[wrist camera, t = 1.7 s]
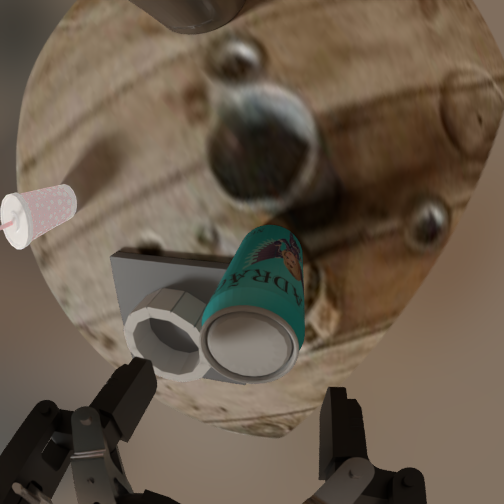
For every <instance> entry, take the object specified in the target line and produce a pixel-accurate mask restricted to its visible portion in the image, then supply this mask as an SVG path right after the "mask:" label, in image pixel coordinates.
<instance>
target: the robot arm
mask: <svg viewBox="0 0 504 504" xmlns="http://www.w3.org/2000/svg"><path fill="white" fill-rule="evenodd" d="M129 1H130V2H132V3H133V4H135V5H136V6H138V7H139V8H141V9H142V10H144V11H145V12H146V13H148V14H149V15H151V16H152V17H153V18H155V19H156V20H158V21H159V22H160V23H162V24H163V25H164V26H166V27H167V28H169V29H170V30H172V31H174V32H177V33H180V34H188V35H189V34H200V33H205V32H208V31H211V30H214V29H217V28H218V27H220V26H222V25H224V24H226V23H227V22H228V21H230V20H231V19H232V18H233V17H234V16H235V15H236V14H237V13H238V12H239V11H240V9H241V8H242V6H243V5H244V2H245V0H129ZM156 389H157V380H156V376H155V372H154V368H153V364H152V361H151V360H148V359H144V358H141V357H137V356H136V357H134V358H133V359H132V361H131V362H130V363H129V365H127V364H124V365H122V366H121V367H119V368H118V369H116V370H115V372H114V373H113V374H112V376H111V378H110V379H109V380H108V381H107V383H106V385H104V387H103V388H102V389H101V391H100V392H99V393H98V395H97V396H96V398H95V399H94V400H93V402H92V403H91V404H90V405H89V406H84V407H80V408H78V409H76V410H75V411H68V410H61V409H59V408H58V407H57V405H56V404H55V403H54V402H53V401H50V400H43V401H40V402H39V403H38V404H37V405H36V406H35V407H34V408H33V410H32V411H31V412H30V414H29V415H28V416H27V418H26V419H25V421H24V422H23V423H22V425H21V426H20V428H19V429H18V431H17V432H16V433H15V435H14V436H13V438H12V439H11V441H10V442H9V443H8V445H7V447H6V448H5V449H4V451H3V452H2V454H1V455H0V504H53V503H52V501H51V499H52V496H53V495H54V493H55V491H56V488H57V487H58V485H59V483H60V481H61V479H62V477H63V475H64V473H65V472H66V470H67V468H68V466H69V464H70V462H71V468H72V474H73V480H74V485H75V490H76V495H77V500H78V504H180V503H178V502H176V501H175V500H173V499H171V498H169V497H166V496H164V495H160V494H157V493H154V492H151V491H149V490H145V491H144V493H134V492H133V490H132V487H131V485H130V483H129V482H128V480H127V477H126V474H125V471H124V467H123V464H122V460H121V457H120V453H119V449H118V446H117V444H118V442H119V440H122V441H125V442H128V441H129V439H130V438H131V436H132V434H133V432H134V430H135V428H136V426H137V425H138V423H139V421H140V419H141V417H142V416H143V414H144V412H145V410H146V408H147V407H148V405H149V403H150V401H151V400H152V398H153V396H154V394H155V392H156ZM50 438H51V440H50ZM49 440H50V441H49ZM48 441H49V442H48ZM47 443H48V444H47ZM46 444H47V446H46ZM45 446H46V447H45ZM44 447H45V449H44ZM366 448H367V447H366V439H365V430H364V423H363V416H362V410H361V407H360V405H359V403H358V402H357V400H356V399H347V393H346V388H345V387H328V389H327V392H326V395H325V398H324V401H323V404H322V407H321V411H320V448H319V480H325V483H324V484H323V485H322V486H321V487H320V488H319V489H318V490H317V491H316V492H315V493H314V495H312V496H311V497H310V498H308V499H307V500H306V501H305V502H303V503H302V504H427V501H426V490H425V482H424V477H423V475H422V473H421V472H420V471H419V470H417V469H415V468H404V469H401V470H400V471H398V472H392V471H387V470H382V469H379V468H377V467H375V466H374V465H373V464H372V463H371V462H370V461H369V459H368V456H367V449H366ZM43 449H44V451H43ZM42 451H43V452H42Z"/></svg>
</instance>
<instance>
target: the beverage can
mask: <svg viewBox="0 0 504 504" xmlns="http://www.w3.org/2000/svg"><path fill="white" fill-rule="evenodd" d="M304 336H305V321H304V282H303V257H302V248H301V245H300V243H299V241H298V239H297V238H296V237H295V235H294V234H293V233H291V232H290V231H289V230H287V229H286V228H283V227H281V226H277V225H264V226H260V227H257V228H255V229H253V230H252V231H251V232H249V233H248V234H247V235H246V237H245V238H244V240H243V241H242V243H241V245H240V247H239V248H238V250H237V252H236V254H235V256H234V257H233V259H232V261H231V263H230V265H229V267H228V268H227V270H226V272H225V274H224V276H223V277H222V279H221V281H220V283H219V285H218V286H217V288H216V290H215V292H214V294H213V296H212V297H211V299H210V301H209V303H208V305H207V307H206V308H205V310H204V313H203V316H202V328H201V331H200V336H199V345H200V349H201V352H202V354H203V357H204V358H205V360H206V361H207V362H208V364H209V365H210V366H211V367H212V368H213V369H215V370H216V371H217V372H218V373H220V374H222V375H223V376H225V377H227V378H229V379H232V380H235V381H238V382H242V383H249V384H260V383H267V382H271V381H274V380H277V379H279V378H281V377H283V376H284V375H286V374H287V373H288V372H289V371H290V370H291V369H292V368H293V366H294V365H295V363H296V361H297V358H298V354H299V350H300V349H301V347H302V344H303V342H304Z"/></svg>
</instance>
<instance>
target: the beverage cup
mask: <svg viewBox="0 0 504 504" xmlns="http://www.w3.org/2000/svg"><path fill="white" fill-rule="evenodd" d="M76 208H77V201H76V196H75V194H74V191H73V190H72V189H71V187H70V186H68V185H66V184H63V185H58V186H53V187H48V188H43V189H39V190H34V191H30V192H26V193H21V194H18V193H13V194H8V195H6V196H5V198H4V199H3V200H2V205H1V223H2V225H1V226H0V230H3V231H4V233H5V236H6V238H7V239H8V241H9V242H10V244H11V245H12V246H13V247H15V248H16V249H23V248H25V247H26V246H28V245H29V244H30V243H31V241H32V240H34V239H36V238H37V237H39V236H41V235H42V234H44V233H46V232H47V231H49V230H51V229H53V228H54V227H56V226H58V225H60V224H62V223H63V222H65V221H67V220H69V219H70V218H72V217H73V216H74V214H75V212H76Z"/></svg>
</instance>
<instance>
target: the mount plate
mask: <svg viewBox="0 0 504 504" xmlns="http://www.w3.org/2000/svg"><path fill="white" fill-rule="evenodd" d="M110 260H111V266H112V272H113V278H114V283H115V288H116V293H117V298H118V303H119V307H120V312H121V316H122V320H123V325H124V330H123V331H124V335H125V339H126V342H127V346H128V348H129V350H130V351H131V355H132V358H134V357H136V356H137V357H141V358H144V359H148V360H151V361H152V364H153V368H154V372H155V374H156V375H158V376H160V377H161V376H162V378H165V379H169V380H174V381H178V382H188V381H193V380H198V379H200V378H206V379H211V380H217V381H223V382H229V383H235V384H242V385H246V383H242V382H238V381H235V380H232V379H229V378H227V377H225V376H223V375H222V374H220V373H218V372H217V371H216V370H215V369H213V368H212V367H211V366H210V365H209V364H208V362H207V361H206V360H205V358H204V357H203V354H202V352H201V349H200V345H199V336H200V331H201V328H202V316H203V313H204V310H205V308H206V307H207V305H208V303H209V301H210V299H211V297H212V296H213V294H214V292H215V290H216V288H217V286H218V285H219V283H220V281H221V279H222V277H223V276H224V274H225V272H226V270H227V268H228V267H229V265H230V263H220V262H210V261H200V260H190V259H180V258H171V257H161V256H152V255H142V254H133V253H124V252H116V253H114V254H113V255H111V256H110Z"/></svg>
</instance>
